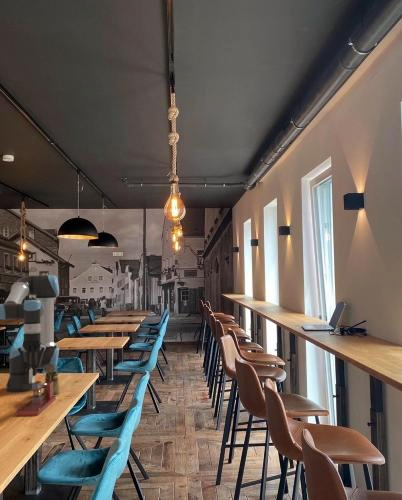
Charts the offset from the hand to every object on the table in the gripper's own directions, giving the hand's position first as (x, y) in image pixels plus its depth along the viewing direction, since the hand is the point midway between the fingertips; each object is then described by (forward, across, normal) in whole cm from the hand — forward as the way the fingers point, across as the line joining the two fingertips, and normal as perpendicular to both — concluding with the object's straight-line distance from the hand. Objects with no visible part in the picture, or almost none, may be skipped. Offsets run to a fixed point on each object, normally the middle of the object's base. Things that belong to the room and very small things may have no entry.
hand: (31, 382), depth 203 cm
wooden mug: (+14, -1, +30) cm, 33 cm away
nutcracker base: (+14, 0, +8) cm, 16 cm away
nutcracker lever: (+4, 0, +6) cm, 7 cm away
